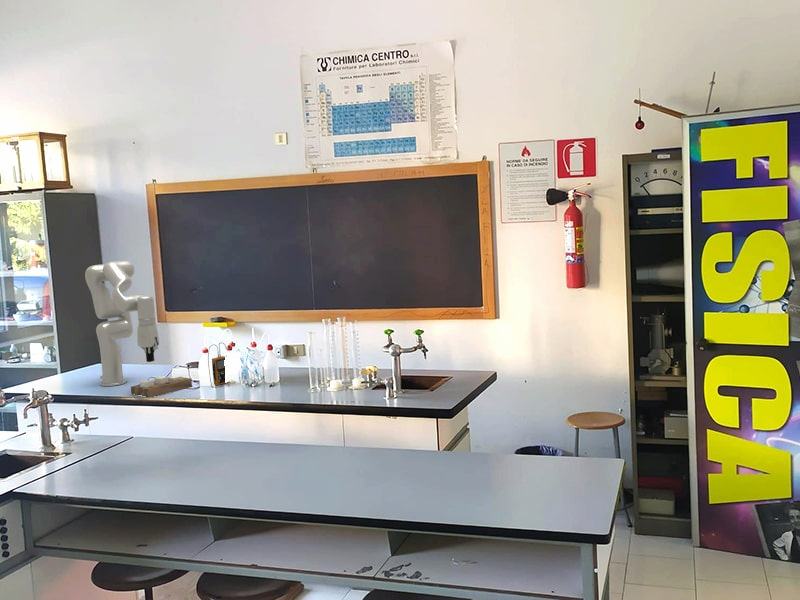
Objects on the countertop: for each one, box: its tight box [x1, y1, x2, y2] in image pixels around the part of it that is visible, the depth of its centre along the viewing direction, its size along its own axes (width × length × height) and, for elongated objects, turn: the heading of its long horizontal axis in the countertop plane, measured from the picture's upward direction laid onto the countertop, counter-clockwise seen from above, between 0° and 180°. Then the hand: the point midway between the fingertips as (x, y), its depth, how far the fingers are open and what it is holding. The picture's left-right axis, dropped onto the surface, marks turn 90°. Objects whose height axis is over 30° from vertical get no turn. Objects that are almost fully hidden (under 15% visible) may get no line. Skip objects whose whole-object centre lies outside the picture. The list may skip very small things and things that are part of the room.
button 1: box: [139, 379, 154, 388], centre depth 353 cm, size 4×4×5 cm
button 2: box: [167, 375, 183, 380], centre depth 366 cm, size 4×4×5 cm
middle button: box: [153, 375, 169, 384], centre depth 359 cm, size 4×4×5 cm
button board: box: [130, 375, 193, 398], centre depth 359 cm, size 14×24×4 cm, turn 145°
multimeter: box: [207, 342, 230, 388], centre depth 365 cm, size 15×10×20 cm
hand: (150, 361), depth 354 cm, fingers closed
